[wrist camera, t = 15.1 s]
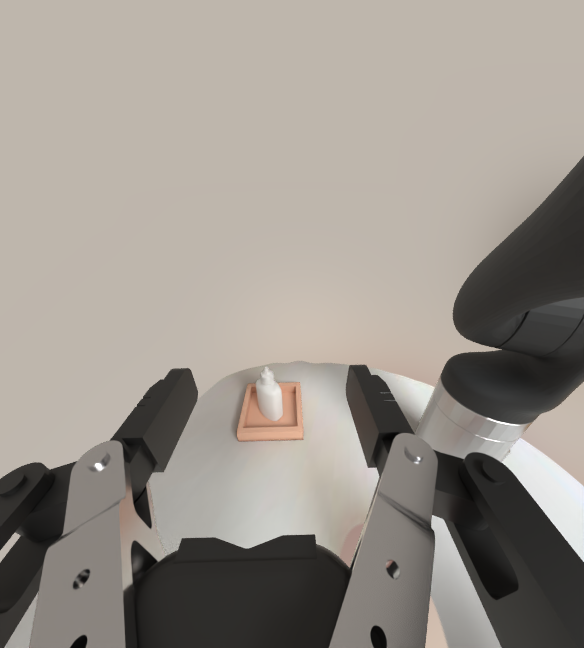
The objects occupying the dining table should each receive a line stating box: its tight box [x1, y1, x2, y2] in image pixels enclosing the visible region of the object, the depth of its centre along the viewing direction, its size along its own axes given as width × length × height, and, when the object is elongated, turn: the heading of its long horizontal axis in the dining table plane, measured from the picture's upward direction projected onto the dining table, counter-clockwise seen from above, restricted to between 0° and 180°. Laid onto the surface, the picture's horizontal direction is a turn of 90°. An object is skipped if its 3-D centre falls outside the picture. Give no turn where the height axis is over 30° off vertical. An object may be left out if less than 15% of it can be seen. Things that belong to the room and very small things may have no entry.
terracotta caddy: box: [237, 382, 303, 441], centre depth 43 cm, size 12×12×2 cm
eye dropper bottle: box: [256, 366, 283, 421], centre depth 40 cm, size 4×6×12 cm
